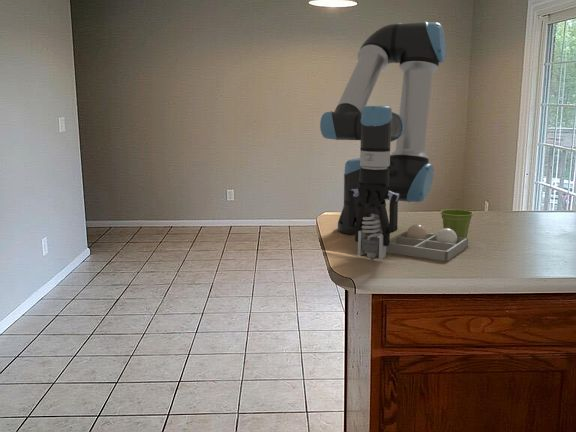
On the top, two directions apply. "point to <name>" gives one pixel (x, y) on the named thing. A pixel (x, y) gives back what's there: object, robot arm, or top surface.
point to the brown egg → (417, 232)
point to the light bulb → (372, 241)
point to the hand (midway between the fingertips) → (371, 255)
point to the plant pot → (457, 221)
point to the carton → (426, 247)
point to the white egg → (446, 236)
